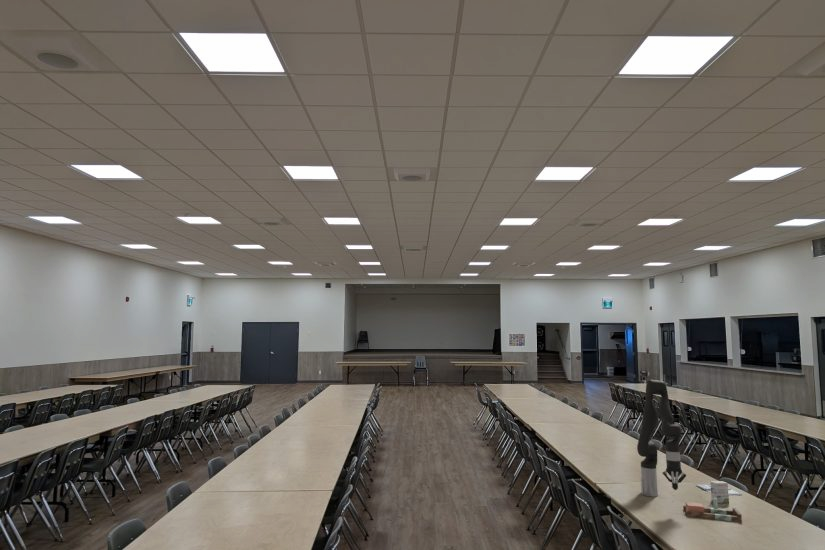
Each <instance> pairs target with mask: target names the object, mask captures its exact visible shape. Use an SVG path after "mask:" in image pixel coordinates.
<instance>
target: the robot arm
mask: <svg viewBox="0 0 825 550" xmlns="http://www.w3.org/2000/svg"><path fill="white" fill-rule="evenodd" d="M645 385H646V386H645V401H644V407H643V408H644V409H643V412H642V413H643V414H642V420H641V422H642V423H641V429H640V434H639V437H638V441H637V445H636V447H637V448H636V450H637V453H638V455H639V456H640V457H644V459H642V460H641V461H640V474H641V475H640V476H641V477H640V484H641V485H640V486H641V487H640V488H641V494H642V496H646V497H654V498H655V497H658V495H659V494H658V491H659V490H658V475H657V474H658V472H657V465H658V447H657V444H656V443H655V442H653V441H651V439H650V438H651V436H652V434H654V433H655V430H656V429H657V427H658V425H659V418H660V420H661V433H662V435H663V436H664V437H667V438H668V437H673V438H672V439H668V440H666V441H665V450H666V451H665V462H666V469H665V470H664V471H662V475H663V476H664V477H665V478H666V480H668V482H669V483H671V488H672V489H673V490H674V491H677V490H678V489H679V485H678V484H680V483H682V482H683V481H684V479H685V478H686V477H687V474H686V473H684V472H683V470H682V464H681V462H682V461H681V452H680V442H681V441H680V440H681V436H682V428H681V426H680V425H678V424H675V423H674V421H675V418H674V415H673V412H672V409H671V406H670V399H669V394H668V389H667V384H666V382H664V381H663V380H659V379H648V380H647V382H646V384H645ZM654 395H656V396H661V402H660V403H659V405H658V409H657V407H656V405H655V404H654V399H653V396H654ZM672 423H674V424H672ZM668 475H669V476H670V477H669V476H668Z"/></svg>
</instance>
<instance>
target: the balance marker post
mask: <svg viewBox="0 0 825 550" xmlns="http://www.w3.org/2000/svg"><path fill="white" fill-rule="evenodd" d="M712 502H713V509H719V507H718V505H719V503H717V498H713V501H712Z"/></svg>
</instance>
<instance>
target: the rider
mask: <svg viewBox="0 0 825 550" xmlns="http://www.w3.org/2000/svg"><path fill="white" fill-rule="evenodd" d="M685 506H686V511H685V512H686V513H687V511H693V512H702V513H704V508H705V506H704V505H703V504H702V503H700V502H690V501H689V502H687V501H685Z"/></svg>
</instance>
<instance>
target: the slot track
mask: <svg viewBox="0 0 825 550" xmlns="http://www.w3.org/2000/svg"><path fill="white" fill-rule="evenodd" d="M682 507H683V508H682V510H683V511H684V512H686V505H684V504H683V506H682ZM731 509H732V510H731ZM731 509H721V508H720V509H719V508H718V509H714V507H711V508H710V507H704V513H702V512H693V511H687V512H686V516H687V517H689V516H691V517H692V518H699V519H700V518H701V519H710V520H719V521H726V522H727V521H728V522H737V523H743V519H742V516H743V515H742V513H740V512H739V510H738V509H737V508H736V507H732V508H731Z"/></svg>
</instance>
